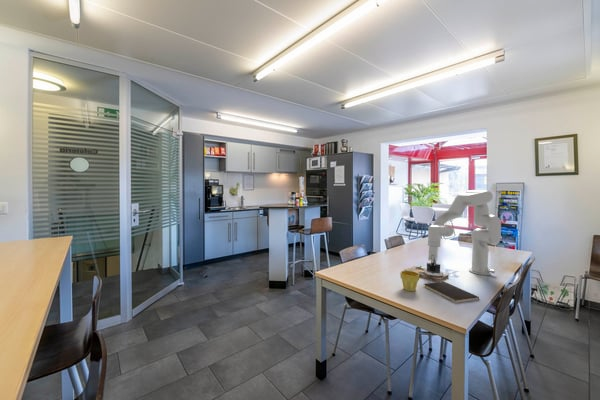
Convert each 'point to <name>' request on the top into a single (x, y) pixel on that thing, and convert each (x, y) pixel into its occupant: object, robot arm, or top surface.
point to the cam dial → (432, 273)
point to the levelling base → (421, 274)
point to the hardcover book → (451, 292)
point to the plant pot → (409, 280)
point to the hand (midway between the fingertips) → (433, 270)
